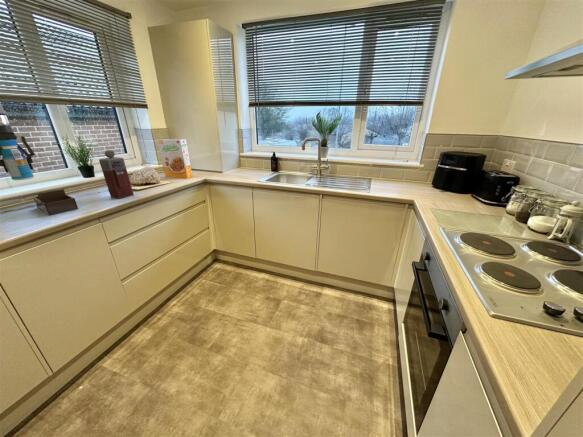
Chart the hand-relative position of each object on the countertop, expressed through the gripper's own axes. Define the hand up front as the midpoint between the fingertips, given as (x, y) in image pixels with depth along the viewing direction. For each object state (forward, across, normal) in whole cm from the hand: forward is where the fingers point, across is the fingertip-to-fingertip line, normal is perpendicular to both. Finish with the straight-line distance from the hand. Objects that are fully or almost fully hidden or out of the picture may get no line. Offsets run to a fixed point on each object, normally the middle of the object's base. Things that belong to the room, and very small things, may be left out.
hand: (20, 170), depth 126 cm
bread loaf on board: (+20, +58, -4) cm, 62 cm away
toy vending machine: (+20, +36, -22) cm, 47 cm away
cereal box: (+20, +87, 0) cm, 89 cm away
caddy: (+20, +6, -15) cm, 26 cm away
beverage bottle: (+5, 0, 0) cm, 5 cm away
